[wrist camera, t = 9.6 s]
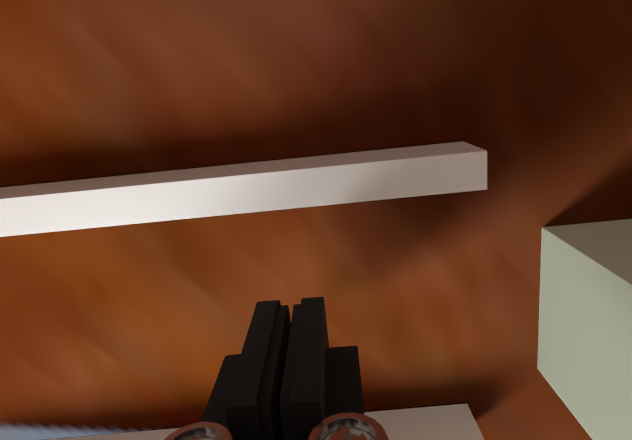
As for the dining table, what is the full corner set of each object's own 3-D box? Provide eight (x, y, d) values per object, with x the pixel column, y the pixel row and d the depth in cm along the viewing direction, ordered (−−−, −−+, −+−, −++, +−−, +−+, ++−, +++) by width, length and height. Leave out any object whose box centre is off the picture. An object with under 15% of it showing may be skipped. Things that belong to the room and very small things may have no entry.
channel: (463, 141, 14) (486, 150, 12) (467, 427, 17) (486, 472, 15) (-326, 220, 15) (-424, 241, 13) (-196, 483, 17) (-260, 533, 15)
